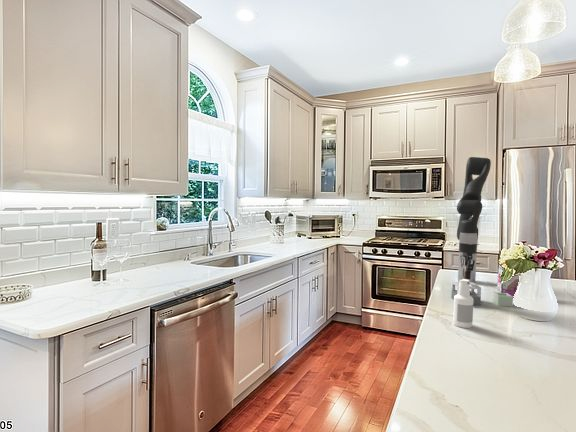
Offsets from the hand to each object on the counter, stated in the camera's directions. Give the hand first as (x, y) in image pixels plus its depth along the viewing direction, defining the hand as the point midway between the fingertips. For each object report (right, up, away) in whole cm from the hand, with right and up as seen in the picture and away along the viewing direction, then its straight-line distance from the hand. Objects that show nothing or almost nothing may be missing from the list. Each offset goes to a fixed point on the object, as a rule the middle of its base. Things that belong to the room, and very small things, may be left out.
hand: (466, 278), depth 169 cm
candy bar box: (+28, -11, +11) cm, 32 cm away
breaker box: (0, -11, +1) cm, 11 cm away
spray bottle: (-17, -13, -30) cm, 37 cm away
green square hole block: (+15, -12, -3) cm, 20 cm away
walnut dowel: (0, -7, 0) cm, 7 cm away
